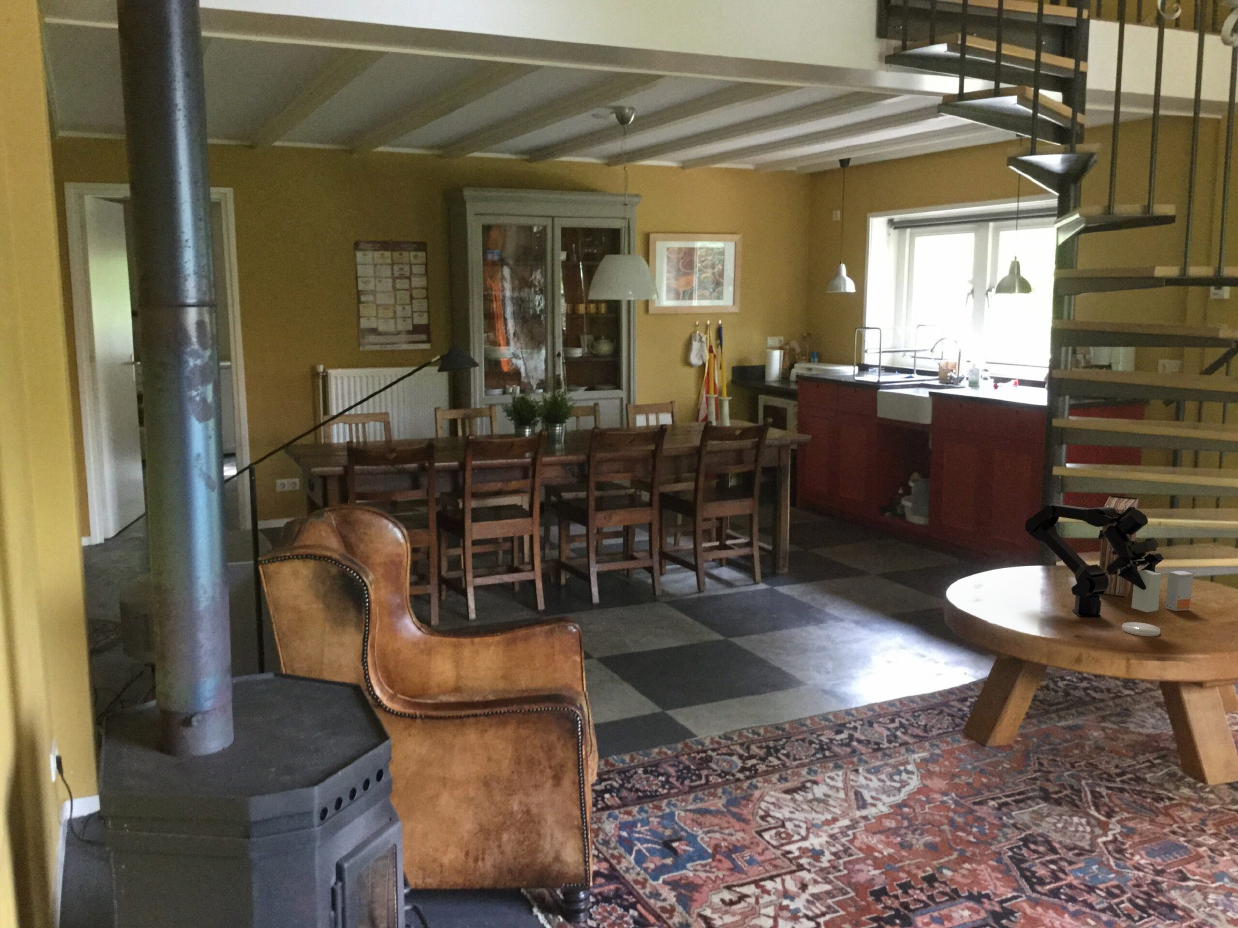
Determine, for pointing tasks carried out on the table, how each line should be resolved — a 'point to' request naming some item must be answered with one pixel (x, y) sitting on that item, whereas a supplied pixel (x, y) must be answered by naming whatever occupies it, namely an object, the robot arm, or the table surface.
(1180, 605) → the skincare box
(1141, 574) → the sage block
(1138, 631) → the coaster
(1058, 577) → the table surface
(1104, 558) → the brown striped upright block
